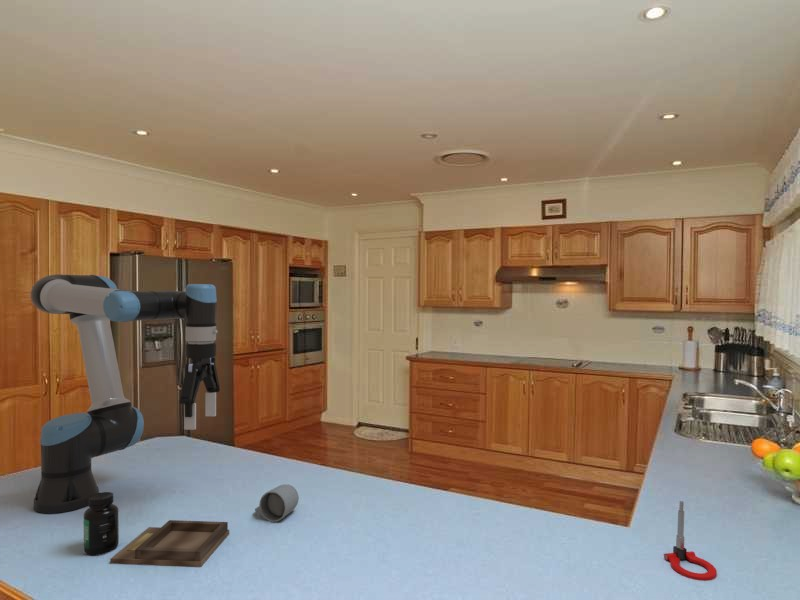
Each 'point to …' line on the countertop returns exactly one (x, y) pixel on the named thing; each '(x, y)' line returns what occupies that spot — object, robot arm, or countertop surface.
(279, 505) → the ceramic mug
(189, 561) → the framed wooden board
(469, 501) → the countertop surface
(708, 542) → the countertop surface
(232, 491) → the countertop surface
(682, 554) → the tow hook
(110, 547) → the supplement bottle
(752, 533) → the countertop surface
